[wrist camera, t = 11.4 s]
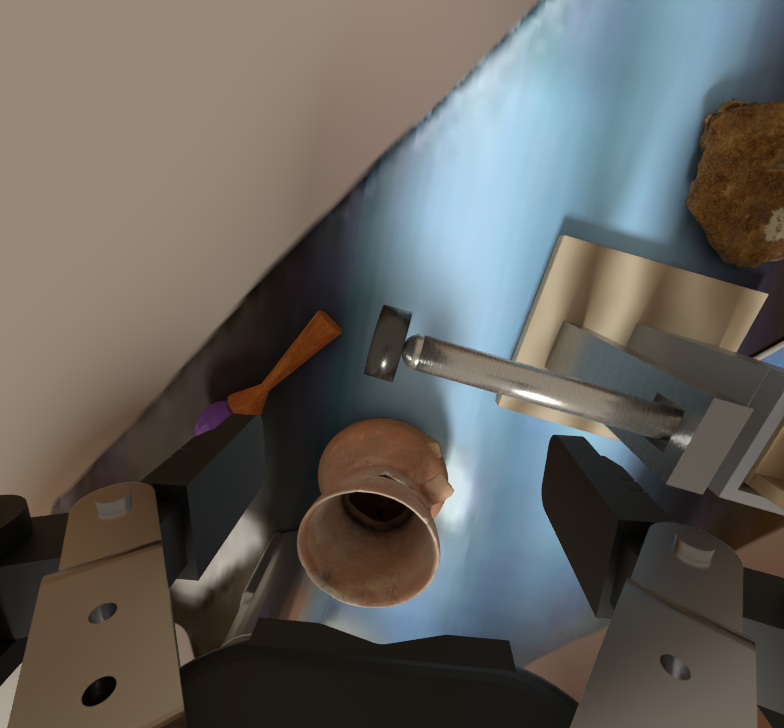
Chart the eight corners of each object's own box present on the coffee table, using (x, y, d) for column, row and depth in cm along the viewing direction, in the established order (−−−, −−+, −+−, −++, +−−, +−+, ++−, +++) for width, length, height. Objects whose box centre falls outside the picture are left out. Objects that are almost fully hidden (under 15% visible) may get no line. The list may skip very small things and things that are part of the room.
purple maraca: (352, 349, 39) (222, 476, 43) (350, 332, 45) (236, 445, 48) (306, 307, 37) (174, 444, 41) (311, 295, 43) (194, 416, 46)
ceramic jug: (409, 379, 44) (399, 439, 30) (480, 477, 46) (500, 573, 33) (287, 456, 48) (230, 540, 34) (358, 542, 50) (331, 651, 37)
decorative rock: (633, 177, 37) (727, 287, 40) (657, 172, 33) (760, 294, 36) (748, 66, 33) (844, 194, 36) (789, 47, 30) (893, 191, 32)
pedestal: (600, 399, 41) (716, 497, 25) (637, 323, 39) (790, 376, 22) (678, 421, 41) (842, 533, 25) (718, 346, 39) (930, 417, 23)
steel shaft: (370, 362, 24) (360, 384, 21) (386, 300, 23) (380, 310, 19) (672, 449, 25) (719, 486, 21) (704, 391, 23) (759, 419, 20)
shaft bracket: (544, 366, 40) (665, 484, 20) (563, 320, 39) (714, 397, 19) (563, 372, 40) (702, 494, 20) (582, 325, 39) (753, 409, 19)
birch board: (495, 401, 43) (498, 406, 42) (559, 235, 38) (564, 235, 37) (668, 450, 44) (677, 457, 42) (755, 292, 38) (768, 294, 37)
